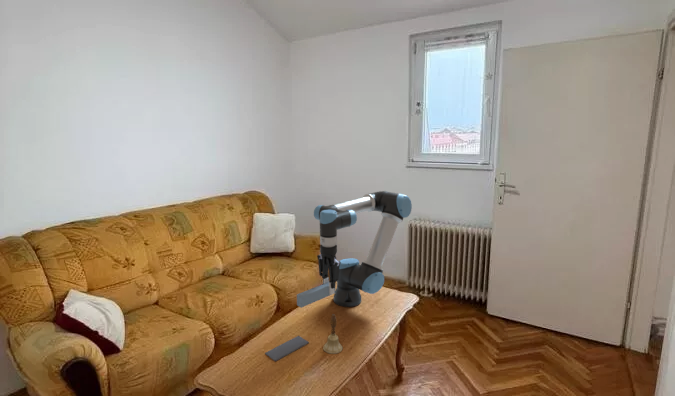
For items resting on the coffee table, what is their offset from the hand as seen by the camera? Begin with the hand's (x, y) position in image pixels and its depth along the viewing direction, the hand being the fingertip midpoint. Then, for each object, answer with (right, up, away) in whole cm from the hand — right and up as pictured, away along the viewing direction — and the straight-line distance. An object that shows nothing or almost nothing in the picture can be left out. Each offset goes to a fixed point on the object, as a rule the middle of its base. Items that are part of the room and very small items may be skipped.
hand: (329, 292), depth 170 cm
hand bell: (+2, -21, -11) cm, 24 cm away
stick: (-5, -2, -5) cm, 7 cm away
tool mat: (-18, -21, -12) cm, 30 cm away
